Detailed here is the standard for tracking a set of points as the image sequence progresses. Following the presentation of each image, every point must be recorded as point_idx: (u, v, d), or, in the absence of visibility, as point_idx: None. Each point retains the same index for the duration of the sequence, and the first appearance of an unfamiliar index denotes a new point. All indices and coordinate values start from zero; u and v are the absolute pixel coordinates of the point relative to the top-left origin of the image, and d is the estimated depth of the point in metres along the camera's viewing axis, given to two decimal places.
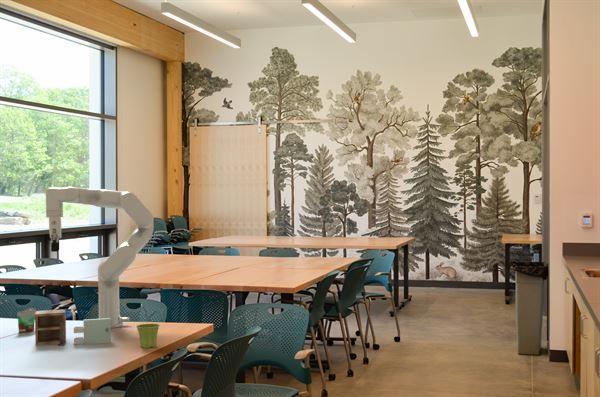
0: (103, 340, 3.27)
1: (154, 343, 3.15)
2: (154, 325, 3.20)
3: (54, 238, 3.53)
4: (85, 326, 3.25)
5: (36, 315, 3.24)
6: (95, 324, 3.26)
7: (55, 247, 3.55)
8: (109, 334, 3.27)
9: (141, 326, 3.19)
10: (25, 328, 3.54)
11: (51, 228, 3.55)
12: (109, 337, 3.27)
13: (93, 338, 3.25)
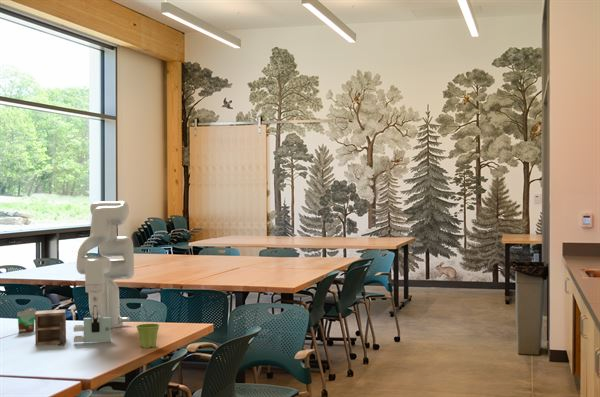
0: (103, 339, 3.27)
1: (154, 343, 3.15)
2: (154, 325, 3.20)
3: (95, 319, 3.23)
4: (85, 325, 3.25)
5: (36, 315, 3.24)
6: None
7: (96, 327, 3.25)
8: (109, 333, 3.27)
9: (141, 326, 3.19)
10: (25, 328, 3.54)
11: (91, 305, 3.22)
12: (109, 336, 3.27)
13: (93, 337, 3.26)
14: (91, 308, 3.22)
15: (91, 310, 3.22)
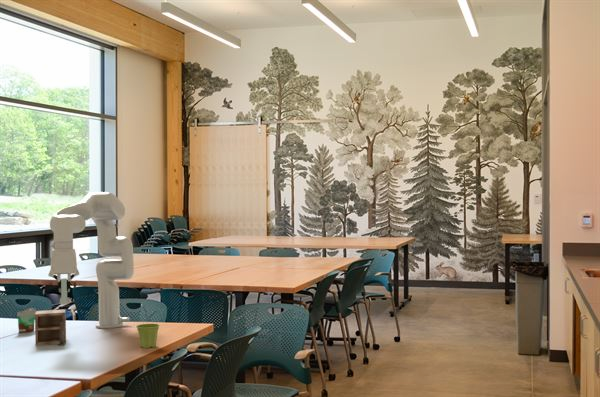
0: None
1: (154, 343, 3.15)
2: (154, 325, 3.20)
3: (53, 277, 3.16)
4: None
5: (36, 315, 3.24)
6: None
7: (58, 286, 3.16)
8: (61, 295, 3.12)
9: (141, 326, 3.19)
10: (25, 328, 3.54)
11: None
12: (61, 298, 3.12)
13: None
14: None
15: None
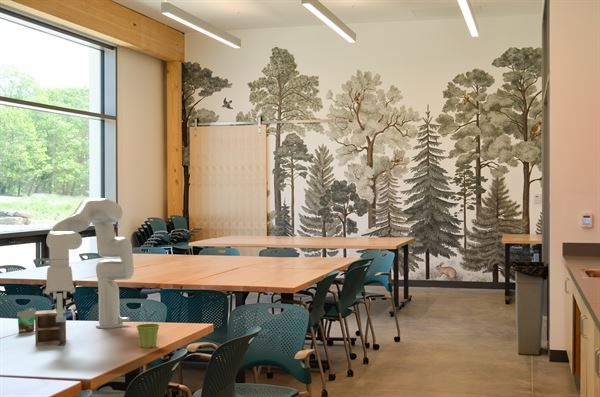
0: None
1: (154, 343, 3.15)
2: (154, 325, 3.20)
3: (49, 294, 3.15)
4: None
5: (36, 315, 3.24)
6: None
7: (54, 303, 3.15)
8: (57, 309, 3.11)
9: (141, 326, 3.19)
10: (25, 328, 3.54)
11: None
12: (57, 313, 3.10)
13: None
14: None
15: None
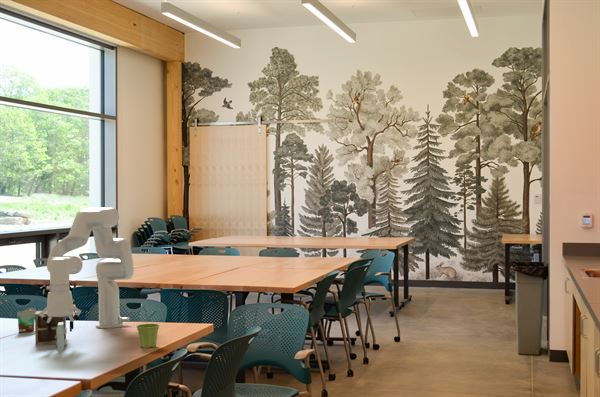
0: None
1: (154, 343, 3.15)
2: (154, 325, 3.20)
3: (42, 317, 3.14)
4: None
5: (36, 315, 3.24)
6: None
7: None
8: (57, 342, 3.10)
9: (141, 326, 3.19)
10: (25, 328, 3.54)
11: None
12: None
13: None
14: None
15: None
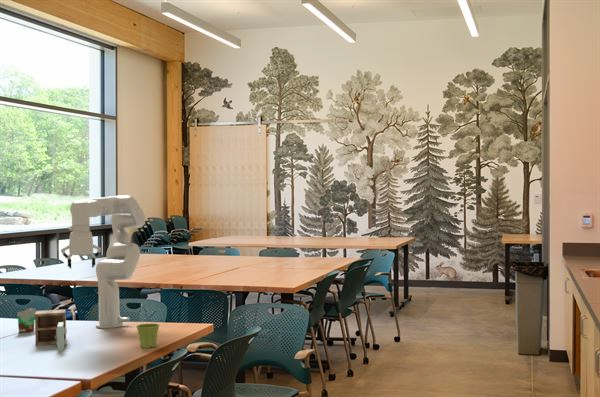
0: None
1: (154, 343, 3.15)
2: (154, 325, 3.20)
3: (63, 254, 3.40)
4: None
5: (36, 315, 3.24)
6: None
7: None
8: (57, 342, 3.10)
9: (141, 326, 3.19)
10: (25, 328, 3.54)
11: None
12: None
13: None
14: None
15: None
